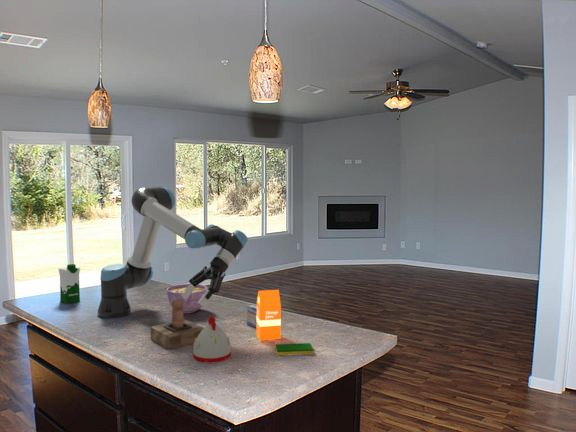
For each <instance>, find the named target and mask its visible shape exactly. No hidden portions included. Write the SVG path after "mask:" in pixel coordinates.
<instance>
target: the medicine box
mask: <svg viewBox="0 0 576 432" xmlns="http://www.w3.org/2000/svg"><path fill="white" fill-rule="evenodd" d="M256 319H257V304H250V305H247V306H246V325H247V326H250V327H253V328H256V329H257V321H256Z"/></svg>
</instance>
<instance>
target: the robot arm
mask: <svg viewBox="0 0 576 432" xmlns="http://www.w3.org/2000/svg"><path fill="white" fill-rule="evenodd" d="M130 202H131V206H132V208H133V209H134V210H135V212H137V213H138V214H139V215H141V216H143V218H142V221H141V225H140V229H139V232H138V235H137V238H136V241H135V245H134V248H133V252H132V254H131V255H132V256H130V257H128V259H127V261H126V264H124V263H114V264H110V265H109V264H108V265H106V266H104V267H103V268H101V271H100V292H101V293H100V296H101V297H100V302H99V305H98V309H97V316H98V317H100V318H105V319H110V318H121V317H125V316H128V315H130V314H131V313H132V307H131V305H130V301H129V300H128V293H127V292H128V290H129V289H134V288H139V287H143V286H144V285H147V284H149V283H150V282H151V280H152V278H153V275H154V274H153V273H154V271H153V267H152V263H151V262H150V259H151V255H152V254H153V253H152V252H153V249H154V246H155V242H156V239H157V236H158V234H159V233H158V232H159V230H160V226H163V228H166V229H167V230H169V231H170V232H172V233H173V234H175V235H177V236H178V237H180V238H182V239H183V240H184V243H185V244H186V246H187V247H188V248H189V249H201V248H205V247H210V246H215V245H217V246H219V247H220V249H219V250H218V252H217V253H216V255H215V256H214V257H213V258H212V259H211V261H210V262H209V265H210V266H209V267H208V266H204V267H203V268H202V269H201V270H200V271H199V272H198V273H196V274H195V275H194V276H192V277H191V278H190V279H189V280H188V282H189V284H190V285H189V286H188V288H187V289H186V290H185V292H184V293H183V294H182V295H181V296H182V297H183V298H184V299H185V300H186V299H187V298H188V297H189V295H190V294H191V293H192V292H193V290H194V289H195V288H196V285H198V284H199V285H201V284H202V283H203V282H204V281H206V280H210V283H209V287H207V291H206V292H205V294H204V295H203V296H202V298H201V299H200V300H199V302H198V303H199V304H200V305H201V306H202V307H204V306H205V305H206V303H207V302H208V301H209V299H211V297H212V296H213V294H219V291H220V289H221V286H222V284H223V280H224V278H225V277H226V273H225V272H226V271H227V270H228V269H229V266H231V264H232V263H233V262H234V260H235V259H236V257H237V256H238V255H239V254H240V253H241V251H242V250H243V249H244V247H245V245H247V243H248V240H249V239H248V237H247V235H246V234H245V233H244V232H243V231H241V230H240V229H239V230H238V229H235V230H234V231H233V232H229V231H228V230H226V229H224V228H222V227H220V226H218V225H215V224H211V223H210V224H208V226H206V227H205V228H204V229H203V228H202V229H201V228H199V227H198V226H196V225H195V224H193V223H191V222H190V221H188V220H186V219H185V218H184V217H182V216H180V215H178V214H177V213H175V212H173V211H172V210H173V209H174V207H175V206H176V205H175V204H176V197H175V195H174V192H173V191H172V190H171V189H170V188H168V187H163V186H155V187H154V186H153V187H152V186H151V187H147V186H146V187H145V186H144V187H140V188H137V189H136V190H135V191H134V193H132V196H131V200H130Z"/></svg>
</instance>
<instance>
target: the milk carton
mask: <svg viewBox="0 0 576 432" xmlns="http://www.w3.org/2000/svg"><path fill="white" fill-rule="evenodd" d="M80 270H81V268H80V267H76V264H75V263H70V264H67V265H66V267H60V268H58V274H59V289H60V294H59V295H60V298H59V301H60V303H63V304H67V305H69V304H73V303H77V302H80V301H81V294H80V292H81V291H80V272H81V271H80Z"/></svg>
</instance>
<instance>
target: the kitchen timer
mask: <svg viewBox="0 0 576 432" xmlns="http://www.w3.org/2000/svg"><path fill="white" fill-rule="evenodd" d="M207 322H208V325H206V326H205V327H203V328H204V329H203V330H202V331H201V332H200V334H199V335H198V337H197V338H195V342H194V343H193V353H192V356H193V359H194V360H195V361H197V362H199V363H204V362H205V364H206V363H207V364H209V363H210V364H211V363H212V362H215V363H220V361H221V362H224V361H226V360H228V359H230V357H231V355H232V348H231V340H230V336H227V334H226V332H225V331H224V330H223V329H222V327H220V326H219V325H217V323H216V319H215V317H214V316H213V315H210V316H209V319H208V321H207Z"/></svg>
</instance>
